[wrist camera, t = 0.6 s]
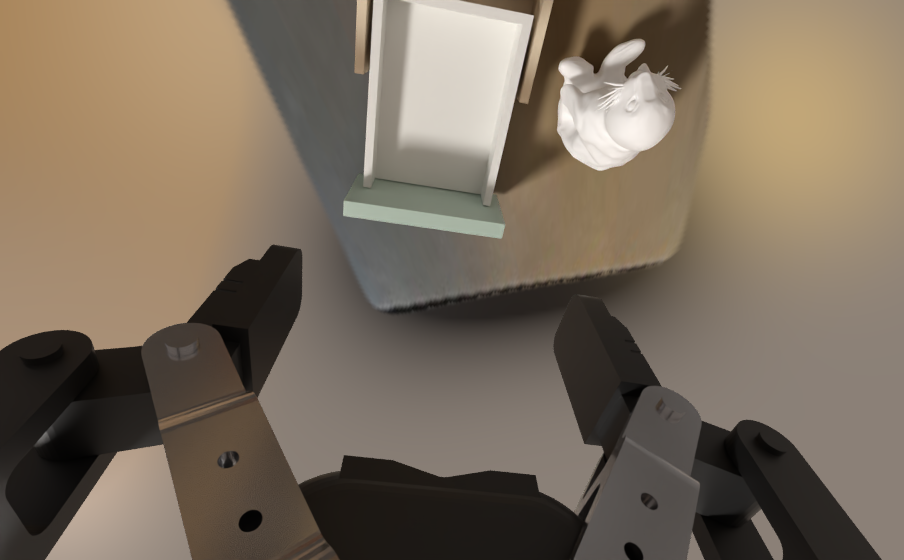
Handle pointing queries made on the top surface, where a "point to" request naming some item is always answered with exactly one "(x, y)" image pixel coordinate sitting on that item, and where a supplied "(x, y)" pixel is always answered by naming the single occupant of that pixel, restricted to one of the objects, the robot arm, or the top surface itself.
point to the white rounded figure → (613, 108)
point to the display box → (532, 3)
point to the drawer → (438, 114)
